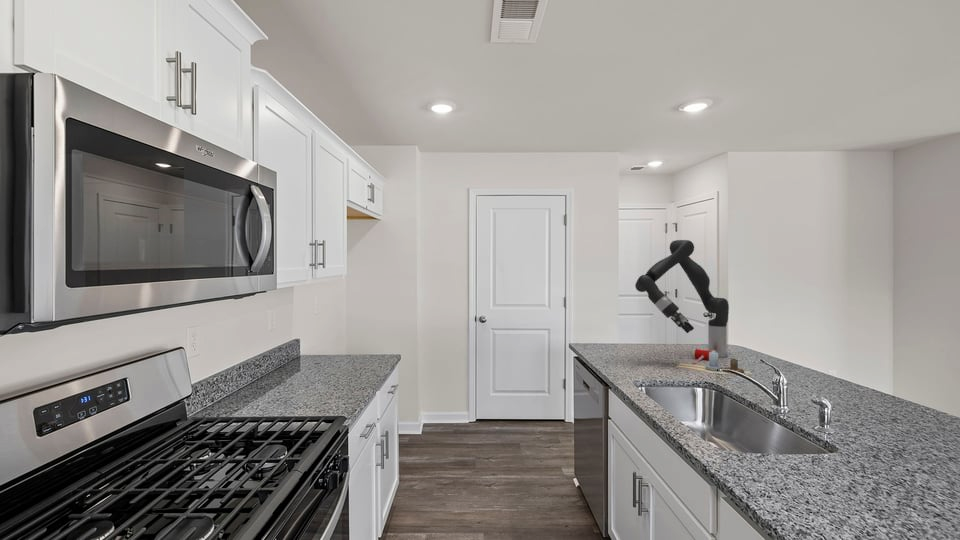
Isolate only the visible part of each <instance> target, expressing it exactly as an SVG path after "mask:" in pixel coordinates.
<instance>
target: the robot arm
mask: <svg viewBox="0 0 960 540" xmlns="http://www.w3.org/2000/svg"><path fill="white" fill-rule="evenodd" d="M669 251H670V252H669V253H671V254H670V255H668V256H666V257H664V258H663V259H662V258H661V260H659V261H657V262H655V263H654V264H653V265H652V266H651V267H650V268H649V269H648V270H647V271H646V273H645V274H642V275H640V276H638V279H637V280H636V281H635V285H634V286H635V289H636V290H637V291H638V292H639V293H643V292H646V293H647V298H648V299H649V300H650V301H651V302H652V303H653V305H654V306H656V308H657V309H658V311H660V312H661V313H662V314H663V315H664V317H665V318H667V319H669V318H670V320H672V322H674V323H675V324H676V325H677V327H678V328H681V329H682V330H683V331H684V332H685V333H686V334H689V333H690V332H691V331H693V330H694V329H695V328H694V326H693V325H692V324H691V323H690V322H689V319H687V317H685V316H684V314H683V313H681V312H678V311H679V309H680V308H679V306H677V305H676V304H675V302H674V301H672V300H671V299H670V298H669V297H668V296H666V294H664V292H662V291H661V289H659V287H658V285H657V284H656V282H657V281H658V280H659V279H661V277H663V276H664V275H665V274H666V273H668V271H670V270H671V269H672V268H674V267H675V266H677V264H679V266H680V267H681V269H682V270H683V271H684V273H685V275H686V276H687V278H688V279H689V281H690V283H691V285H693V287H694V289H695V291H696V293H697V294H698V297H700V299H701V303H702V305H703V307H704V308H705V310H706V311H707V312H708V313H710V314H715V315H714V318H713V319H712V318H711V319H709V320H708V325H707V328H708V329H707V332H708V335H707V337H708V340H707V341H708V343H707V345H708V347H707V348H708V349H707V351H712V350H714V351H717V353H718V358H727V355H728V353H727V352H728V351H727V349H728V347H727V346H728V345H727V342H728V341H727V340H728V337H727V336H728V334H727V330H728V329H727V325H728V321H729V314H730V313H729V312H730V311H729V309H730V306H729V305H730V304H729V301H728V299H726V298H723V297H715V296H714V295H713V294H712V293H711V291H710V283H711V281H710V277H709V275H708V273H707V272H706V271H705V269H704V268H703V267H702V266H701V265H700V264H698V263H697V262H696V261H694V260H693V259H692V258H691V257H690V256H691V255H692V254H693V253H694V252H695V245H694V243H693V242H692V241H691V240H688V239H677V240H672V242H670V243H669Z"/></svg>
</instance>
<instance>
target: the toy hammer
mask: <svg viewBox="0 0 960 540" xmlns="http://www.w3.org/2000/svg"><path fill="white" fill-rule="evenodd" d="M709 352H717V351H714V350H712V351H708V350H706V349H705V350H704V349H698V348H697V347H696V348H695V347H693V348H692V349H691V354H690V355H691V356H690V357H691V360H695V361H694V362H692V363H691V364H694V365H697V364H699V362H701V361H707V362H709Z"/></svg>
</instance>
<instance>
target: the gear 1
mask: <svg viewBox="0 0 960 540" xmlns="http://www.w3.org/2000/svg"><path fill="white" fill-rule="evenodd" d="M704 366H705V369H708V370H712V371H717V369H722V368H723V366H722V365H719V357H718V353H717V352H709V361H708V364H706V365H704Z"/></svg>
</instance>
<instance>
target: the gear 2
mask: <svg viewBox="0 0 960 540" xmlns="http://www.w3.org/2000/svg"><path fill="white" fill-rule="evenodd" d="M738 360H739V359H737V358H735V357H734V358H731V359H730V360H729V362H730V364H729V365H730V366H728V367H723V368H724V369H730V370H734V371H738V372H741V373H744V371H745V369H743V368H741V367H739V362H738ZM727 373H729V372H727Z"/></svg>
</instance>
